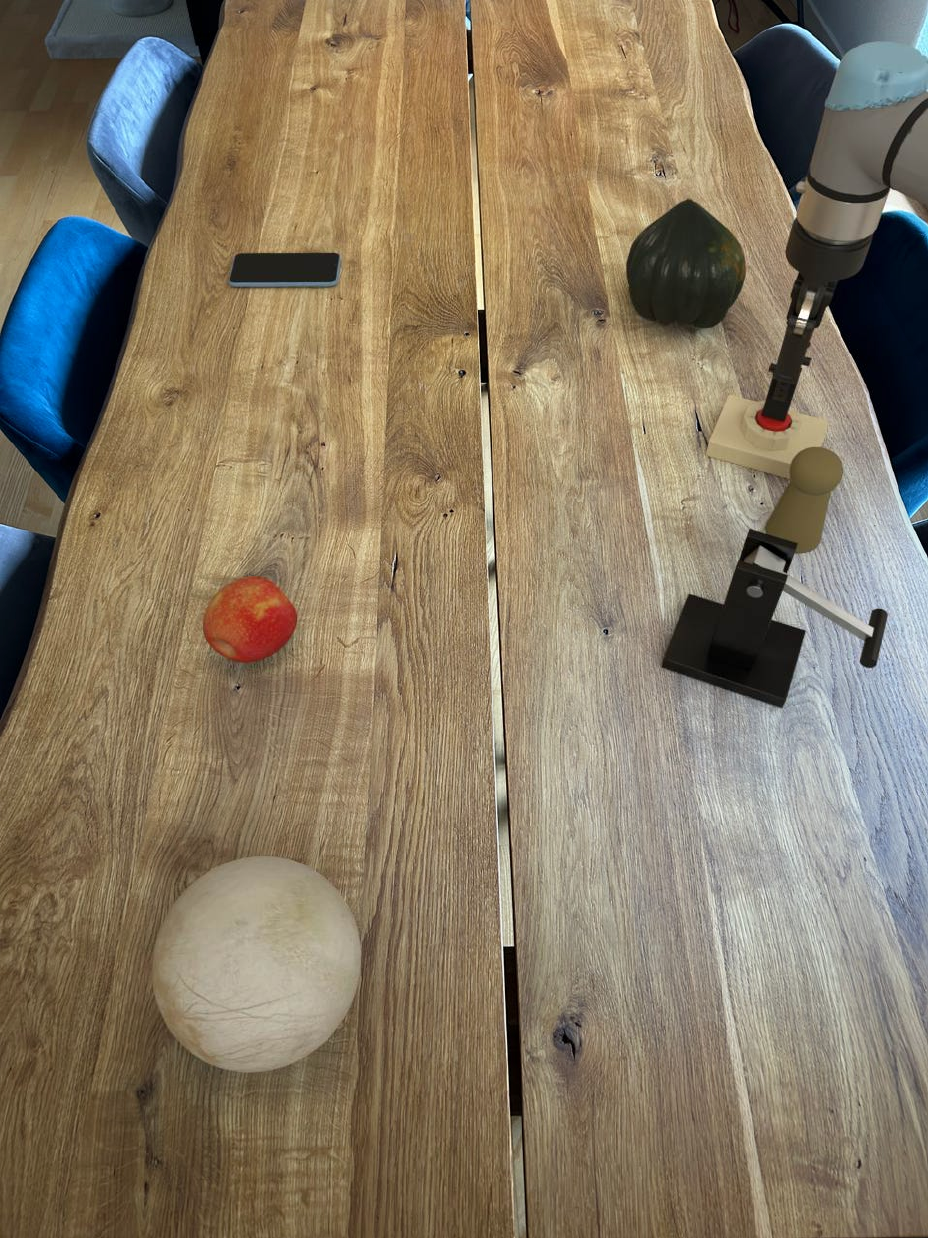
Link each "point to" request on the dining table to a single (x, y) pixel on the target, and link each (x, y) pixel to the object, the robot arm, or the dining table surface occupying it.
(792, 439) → the control block
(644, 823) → the dining table surface
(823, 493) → the olive game pawn
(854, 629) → the lever
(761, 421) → the button
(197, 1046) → the decorative sphere
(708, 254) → the squash
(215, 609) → the apple
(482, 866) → the dining table surface
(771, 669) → the bracket
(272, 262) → the smartphone
